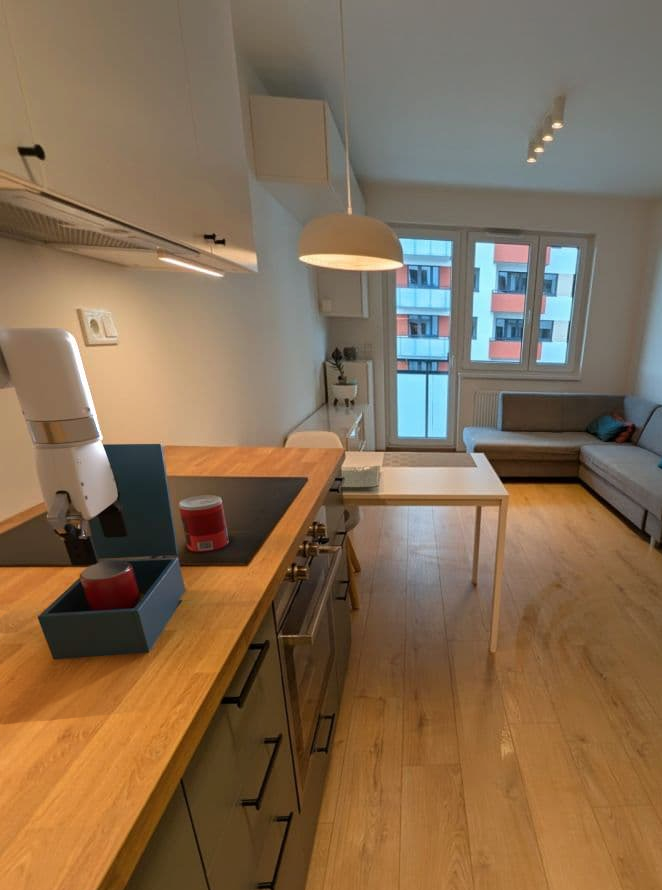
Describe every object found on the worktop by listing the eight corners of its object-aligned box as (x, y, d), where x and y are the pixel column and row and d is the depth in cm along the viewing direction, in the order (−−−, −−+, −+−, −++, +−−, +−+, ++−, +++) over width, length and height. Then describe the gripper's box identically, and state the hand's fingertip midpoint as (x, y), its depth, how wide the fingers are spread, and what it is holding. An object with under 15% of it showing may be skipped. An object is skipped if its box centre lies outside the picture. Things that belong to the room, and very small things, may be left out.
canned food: (237, 547, 109) (229, 499, 104) (204, 561, 103) (194, 510, 98) (214, 539, 112) (205, 492, 108) (181, 552, 106) (170, 502, 101)
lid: (160, 443, 81) (171, 442, 86) (73, 444, 79) (89, 443, 84) (176, 555, 86) (186, 548, 91) (95, 558, 84) (109, 551, 89)
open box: (150, 656, 74) (137, 610, 71) (54, 663, 72) (37, 616, 69) (187, 596, 90) (178, 557, 86) (109, 601, 88) (97, 560, 84)
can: (89, 641, 76) (69, 580, 71) (109, 617, 81) (91, 560, 77) (137, 638, 77) (120, 578, 72) (153, 615, 83) (138, 558, 78)
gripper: (68, 419, 73) (101, 528, 81) (-10, 446, 58) (39, 579, 65) (124, 418, 75) (152, 526, 82) (62, 445, 59) (103, 575, 66)
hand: (102, 549), depth 73 cm, fingers open, 9 cm apart
